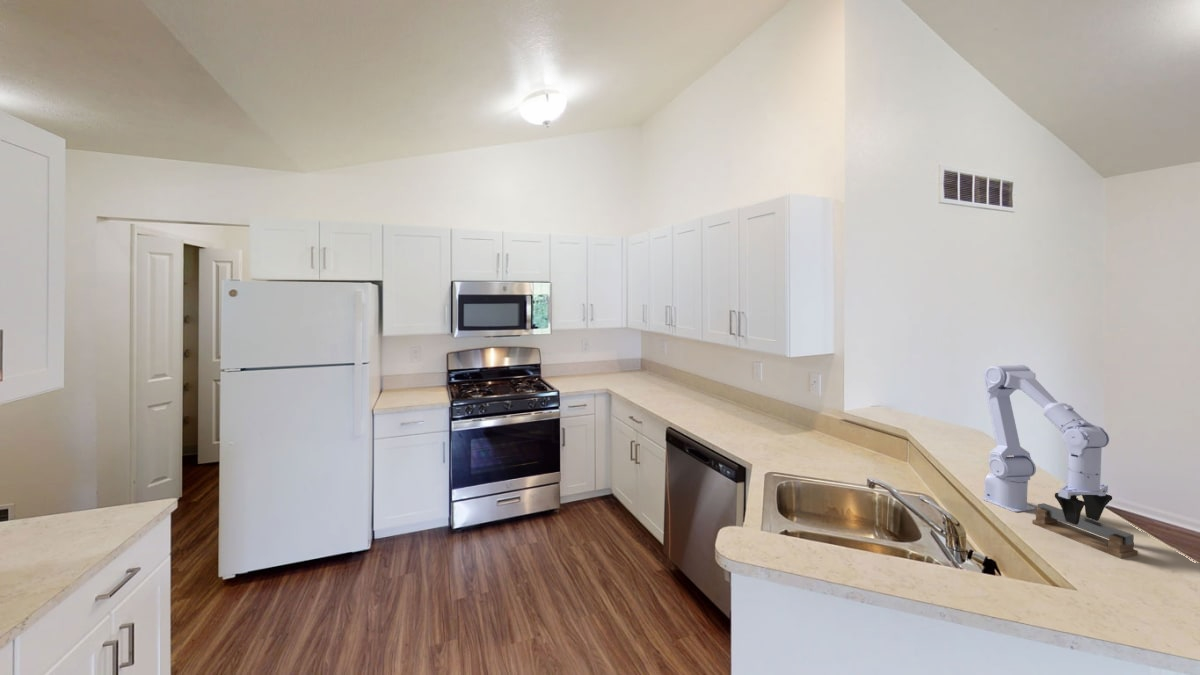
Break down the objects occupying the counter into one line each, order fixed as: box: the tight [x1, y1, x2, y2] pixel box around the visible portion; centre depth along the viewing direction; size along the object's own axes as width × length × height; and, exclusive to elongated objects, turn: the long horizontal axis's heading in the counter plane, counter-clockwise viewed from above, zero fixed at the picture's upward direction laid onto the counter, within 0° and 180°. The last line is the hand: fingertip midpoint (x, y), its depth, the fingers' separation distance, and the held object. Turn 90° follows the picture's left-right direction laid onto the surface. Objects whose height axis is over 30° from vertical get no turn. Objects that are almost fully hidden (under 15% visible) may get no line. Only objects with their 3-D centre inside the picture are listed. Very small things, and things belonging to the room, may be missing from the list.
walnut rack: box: [1031, 507, 1139, 559], centre depth 114 cm, size 18×6×5 cm, turn 13°
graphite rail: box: [1037, 503, 1134, 546], centre depth 114 cm, size 18×2×2 cm, turn 13°
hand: (1082, 520), depth 114 cm, fingers open, 7 cm apart
